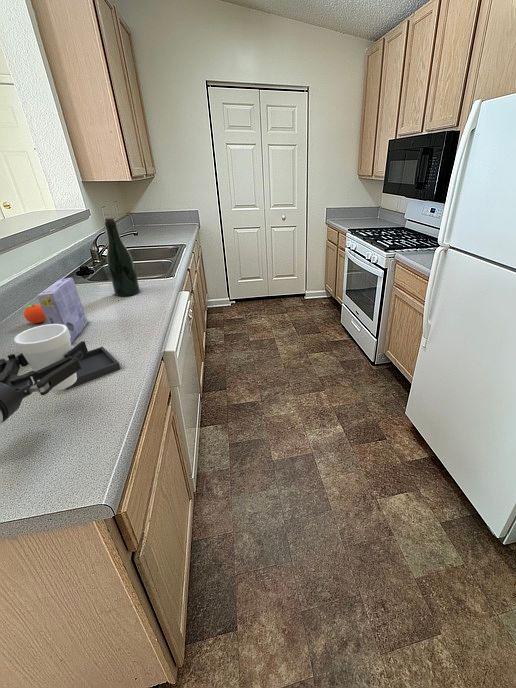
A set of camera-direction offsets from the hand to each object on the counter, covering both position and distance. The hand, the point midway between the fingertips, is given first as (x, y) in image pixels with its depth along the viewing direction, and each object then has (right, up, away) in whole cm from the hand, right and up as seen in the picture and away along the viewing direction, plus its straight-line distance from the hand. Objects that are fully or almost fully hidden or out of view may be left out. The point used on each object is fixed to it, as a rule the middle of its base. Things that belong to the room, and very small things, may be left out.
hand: (63, 346), depth 78 cm
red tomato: (-43, +6, +47) cm, 64 cm away
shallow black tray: (-6, -7, +18) cm, 20 cm away
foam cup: (0, -9, -1) cm, 9 cm away
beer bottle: (-23, +20, +75) cm, 81 cm away
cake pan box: (-24, +2, +38) cm, 45 cm away
